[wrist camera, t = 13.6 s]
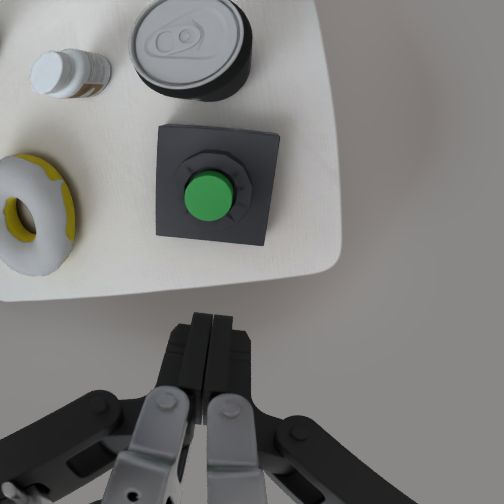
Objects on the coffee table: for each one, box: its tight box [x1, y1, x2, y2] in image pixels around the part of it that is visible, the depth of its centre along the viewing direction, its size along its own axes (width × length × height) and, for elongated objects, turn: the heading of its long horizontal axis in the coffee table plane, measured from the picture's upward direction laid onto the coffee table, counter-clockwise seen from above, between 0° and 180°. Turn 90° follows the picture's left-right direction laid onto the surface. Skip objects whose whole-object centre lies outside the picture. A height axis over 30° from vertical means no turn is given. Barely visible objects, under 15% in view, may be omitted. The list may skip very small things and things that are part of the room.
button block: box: [156, 124, 280, 246], centre depth 25 cm, size 10×10×4 cm
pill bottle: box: [30, 49, 110, 99], centre depth 18 cm, size 4×4×8 cm
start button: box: [184, 171, 233, 221], centre depth 22 cm, size 4×4×2 cm
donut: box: [0, 154, 75, 276], centre depth 25 cm, size 14×14×5 cm
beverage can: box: [129, 0, 252, 102], centre depth 16 cm, size 7×7×12 cm
